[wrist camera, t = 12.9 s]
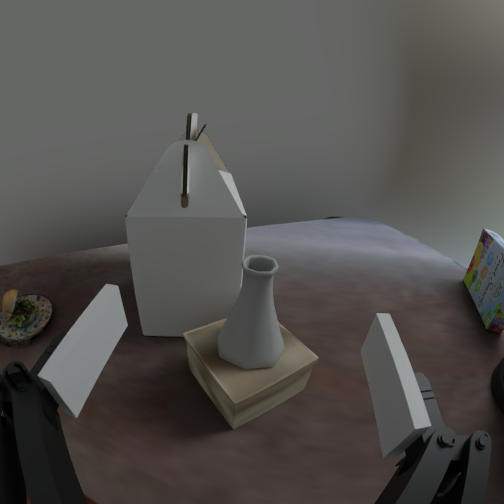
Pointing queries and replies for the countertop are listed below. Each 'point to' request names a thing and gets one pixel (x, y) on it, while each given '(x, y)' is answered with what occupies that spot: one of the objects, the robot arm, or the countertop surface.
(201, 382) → the beech box
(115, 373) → the countertop surface
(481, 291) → the snack box
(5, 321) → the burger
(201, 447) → the countertop surface
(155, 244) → the gable box
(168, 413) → the countertop surface
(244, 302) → the flask
